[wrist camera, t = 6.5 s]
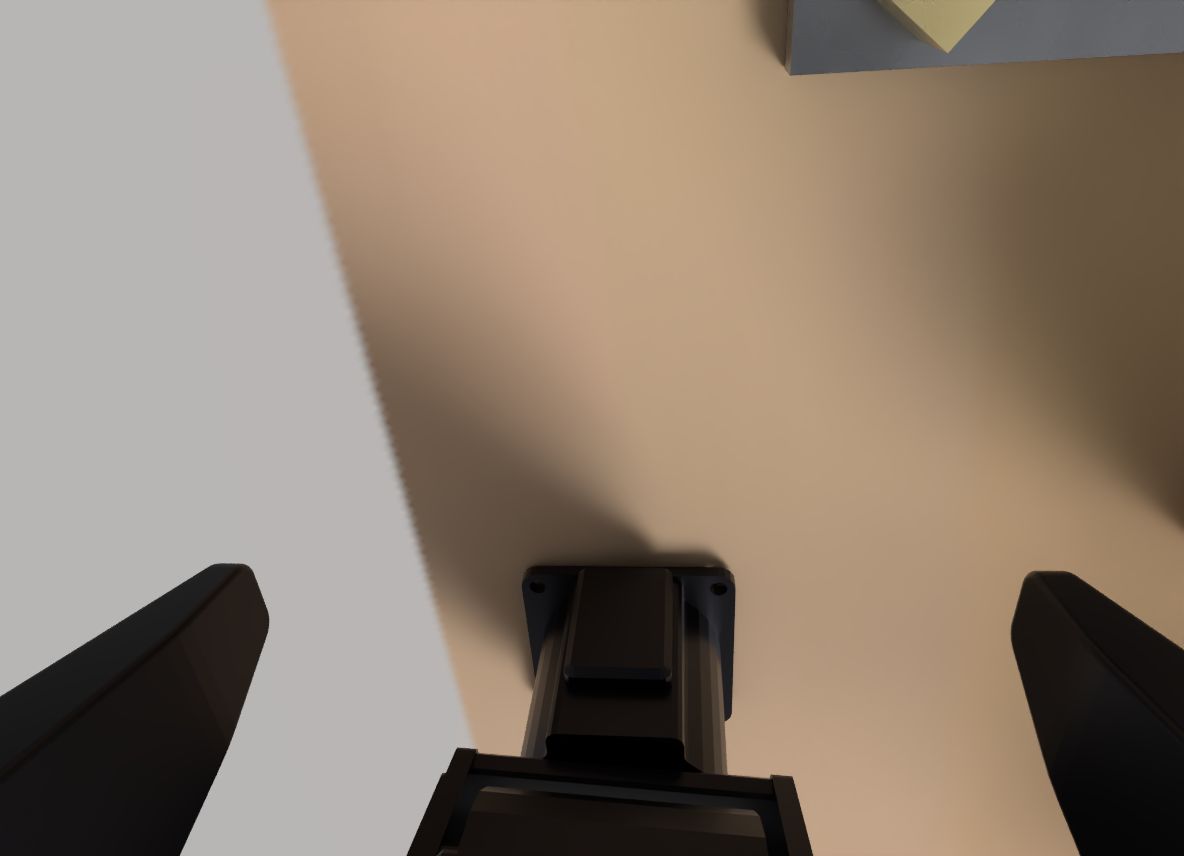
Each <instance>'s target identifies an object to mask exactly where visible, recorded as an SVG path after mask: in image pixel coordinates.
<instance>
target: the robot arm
mask: <svg viewBox="0 0 1184 856" xmlns="http://www.w3.org/2000/svg"><path fill="white" fill-rule="evenodd" d="M533 581H541V582H543V583H544V584H536V583H535V582H533ZM714 583H723V584H724V585H723V586H713V584H714ZM522 591H523V598H524V605H525V611H526V618H527V625H528V632H529V638H530V645H531V652H532V658H533V665H534V672H535V685H534V690H533V695H532V700H531V705H530V710H529V715H528V721H527V726H526V731H525V736H524V741H523V746H522V751H521V757H518V756H507V755H495V754H484V753H478V749H469V748H457V749H456V751H455V753H454V756H453V758H452V760H451V762H450V765H449V767H448V769H447V772H446V773H442V775H441V777H440V779H439V782H438V784H437V786H436V789H435V791H434V793H433V796H432V798H431V800H430V803H429V805H428V807H427V809H426V812H425V814H424V816H423V819H422V821H421V823H420V826H419V828H418V830H417V833H416V835H415V837H414V839H413V842H412V844H411V847H410V849H409V851H408V853H407V856H813V853H812V849H811V845H810V841H809V838H808V834H807V830H806V826H805V822H804V818H803V815H802V811H801V807H800V803H799V799H798V795H797V792H796V788H795V784H794V780H793V777H792V776H781V775H770V778H760V777H749V776H737V775H728V774H727V756H726V739H725V721H727V720H728V719H729V718H730V717H731V714H732V686H733V654H734V621H735V579H734V575H733V574H732V573H731V572H730V571H728V570H727V569H724V568H718V567H609V566H534V567H531V568H529V569H527V571H526V572H525V573H524V577H523V581H522ZM268 628H269V614H268V610H267V608H266V605H265V602H264V599H263V597H262V594H261V591H260V589H259V586H258V583H257V581H256V578H255V575H254V573H253V571H252V569H251V568H250V567H249V566H247V565H245V564H225V563H221V564H214V565H211V566H209V567H208V568H206V569H204V570H203V571H201V572H199V573H198V574H196V575H195V576H193V577H192V578H190V579H188V580H187V581H185V582H183V583H182V584H180V585H179V586H177V587H175V588H174V589H172V590H171V591H169V592H167V593H166V594H164V595H163V596H161V597H159V598H158V599H156V600H154V601H153V602H151V603H150V604H148V605H147V606H145V607H143V608H142V609H140V610H138V611H137V612H135V613H134V614H132V615H130V616H129V617H127V618H126V619H124V620H122V621H121V622H119V623H118V624H116V625H115V626H113V627H111V628H110V629H108V630H106V631H105V632H103V633H102V634H100V635H98V636H97V637H95V638H94V639H92V640H90V641H89V642H87V643H85V644H84V645H83V646H81V647H79V648H77V649H76V650H74V651H73V652H71V653H69V654H68V655H66V656H65V657H63V658H61V659H60V660H58V661H56V662H55V663H53V664H52V665H50V666H49V667H47V668H45V669H44V670H42V671H40V672H39V673H37V674H36V675H34V676H32V677H31V678H29V679H28V680H26V681H24V682H23V683H21V684H20V685H18V686H16V687H15V688H13V689H12V690H10V691H8V692H7V693H5V694H4V695H2V696H0V856H180V854H181V851H182V849H183V847H184V845H185V843H186V840H187V838H188V836H189V834H190V832H191V830H192V828H193V825H194V823H195V821H196V819H197V817H198V814H199V812H200V810H201V808H202V806H203V803H204V801H205V799H206V797H207V795H208V792H209V790H210V788H211V786H212V784H213V781H214V779H215V777H216V775H217V773H218V770H219V768H220V766H221V764H222V761H223V759H224V757H225V754H226V752H227V750H228V747H229V745H230V742H231V740H232V737H233V734H234V731H235V729H236V726H237V723H238V720H239V717H240V714H241V711H242V708H243V705H244V702H245V699H246V696H247V693H248V690H249V687H250V684H251V681H252V678H253V675H254V672H255V669H256V666H257V663H258V660H259V657H260V654H261V652H262V648H263V645H264V643H265V640H266V637H267V633H268ZM1011 642H1012V647H1013V651H1014V655H1015V659H1016V662H1017V666H1018V669H1019V673H1020V677H1021V680H1022V684H1023V687H1024V691H1025V695H1026V698H1027V702H1028V705H1029V709H1030V713H1031V716H1032V720H1033V724H1034V727H1035V731H1036V734H1037V738H1038V742H1039V745H1040V749H1041V752H1042V756H1043V759H1044V762H1045V766H1046V769H1047V772H1048V776H1049V778H1050V781H1051V784H1052V786H1053V789H1054V792H1055V794H1056V797H1057V800H1058V802H1059V805H1060V807H1061V810H1062V812H1063V815H1064V817H1065V819H1066V822H1067V824H1068V827H1069V829H1070V832H1071V834H1072V837H1073V839H1074V842H1075V844H1076V847H1077V849H1078V852H1079V854H1080V856H1184V650H1183V649H1182V648H1180V647H1179V646H1178V645H1176V644H1175V643H1173V642H1172V641H1170V640H1169V639H1167V638H1166V637H1165V636H1163V635H1162V634H1160V633H1159V632H1157V631H1156V630H1154V629H1153V628H1151V627H1150V626H1149V625H1147V624H1146V623H1144V622H1143V621H1141V620H1140V619H1138V618H1137V617H1135V616H1134V615H1133V614H1131V613H1130V612H1128V611H1127V610H1125V609H1124V608H1122V607H1121V606H1120V605H1118V604H1117V603H1115V602H1114V601H1112V600H1111V599H1109V598H1108V597H1106V596H1105V595H1104V594H1102V593H1101V592H1099V591H1098V590H1096V589H1095V588H1093V587H1092V586H1090V585H1089V584H1088V583H1086V582H1085V581H1083V580H1082V579H1080V578H1079V577H1077V576H1076V575H1074V574H1072V573H1070V572H1066V571H1032V572H1030V573H1028V574H1027V576H1026V577H1025V579H1024V581H1023V584H1022V588H1021V591H1020V595H1019V599H1018V602H1017V606H1016V610H1015V614H1014V617H1013V621H1012V625H1011Z"/></svg>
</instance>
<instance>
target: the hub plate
mask: <svg viewBox="0 0 1184 856" xmlns="http://www.w3.org/2000/svg"><path fill="white" fill-rule="evenodd" d="M1180 52H1184V0H788V14H787V34H786V54H785V70H786V71H787V72H788V73H789V75H807V74H824V73H841V72H858V71H875V70H892V69H909V68H926V67H943V66H959V65H976V64H993V63H1010V62H1027V61H1044V60H1061V59H1078V58H1095V57H1112V56H1129V55H1146V54H1163V53H1180Z"/></svg>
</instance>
